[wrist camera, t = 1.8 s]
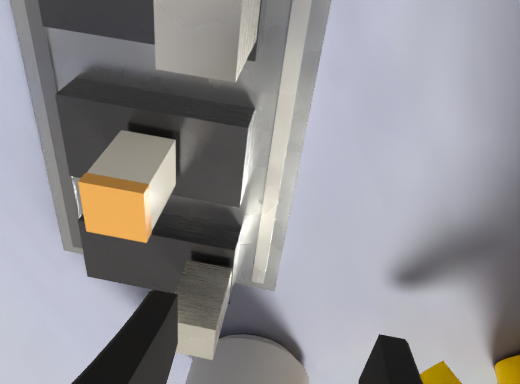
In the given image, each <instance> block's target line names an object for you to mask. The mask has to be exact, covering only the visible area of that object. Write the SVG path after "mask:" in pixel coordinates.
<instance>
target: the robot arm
mask: <svg viewBox="0 0 520 384" xmlns="http://www.w3.org/2000/svg"><path fill="white" fill-rule="evenodd" d="M177 345H178V294H173V293H168V292H163V291H158V290H152V291H150V292H149V293H148V295H147V296H146V297H145V299H144V300H143V302H142V303H141V304H140V306H139V307H138V308H137V309H136V311H135V312H134V313H133V315H132V316H131V317H130V318H129V320H128V321H127V322H126V323H125V325H124V326H123V327H122V328H121V329H120V331H119V332H118V333H117V334H116V335H115V337H114V338H113V339H112V340H111V341H110V342H109V343H108V345H107V346H106V347H105V348H104V349H103V350H102V351H101V352H100V354H99V355H98V356H97V357H96V358H95V359H94V360H93V362H92V363H91V364H90V365H89V366H88V367H87V368H86V369H85V370H84V371H83V372H82V373H81V374H80V375H79V376H78V377H77V378H76V379H75V380H74V381H73V383H72V384H166V382H167V379H168V376H169V372H170V369H171V366H172V362H173V359H174V355H175V352H176V348H177ZM359 384H423V382H422V379H421V377H420V374H419V372H418V369H417V366H416V364H415V361H414V358H413V356H412V353H411V350H410V347H409V344H408V343H407V341H406V340H405V339H401V338H396V337H391V336H386V335H380V334H379V336H378V339H377V341H376V343H375V345H374V348H373V350H372V352H371V354H370V356H369V359H368V361H367V363H366V365H365V368H364V370H363V372H362V374H361V376H360V379H359Z"/></svg>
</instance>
